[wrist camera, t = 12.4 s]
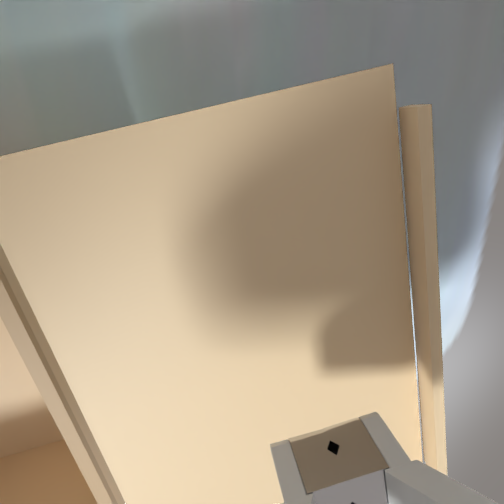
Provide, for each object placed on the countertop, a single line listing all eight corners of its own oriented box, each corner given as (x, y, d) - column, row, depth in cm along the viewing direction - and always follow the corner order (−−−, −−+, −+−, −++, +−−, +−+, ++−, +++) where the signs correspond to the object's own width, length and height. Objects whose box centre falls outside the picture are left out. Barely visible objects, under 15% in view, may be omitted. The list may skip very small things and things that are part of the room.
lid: (125, 545, 14) (138, 507, 15) (448, 511, 12) (431, 472, 14) (-66, 170, 9) (-24, 162, 10) (429, 52, 8) (405, 61, 9)
